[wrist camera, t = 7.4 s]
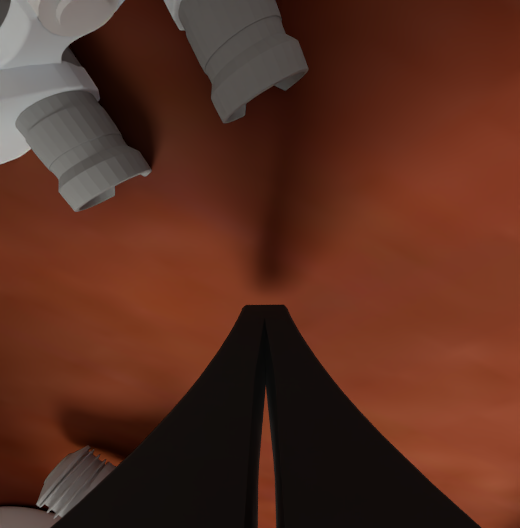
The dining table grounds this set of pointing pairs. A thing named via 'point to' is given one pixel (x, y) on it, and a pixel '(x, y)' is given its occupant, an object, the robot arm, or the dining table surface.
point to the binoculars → (87, 95)
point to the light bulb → (72, 480)
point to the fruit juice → (26, 518)
